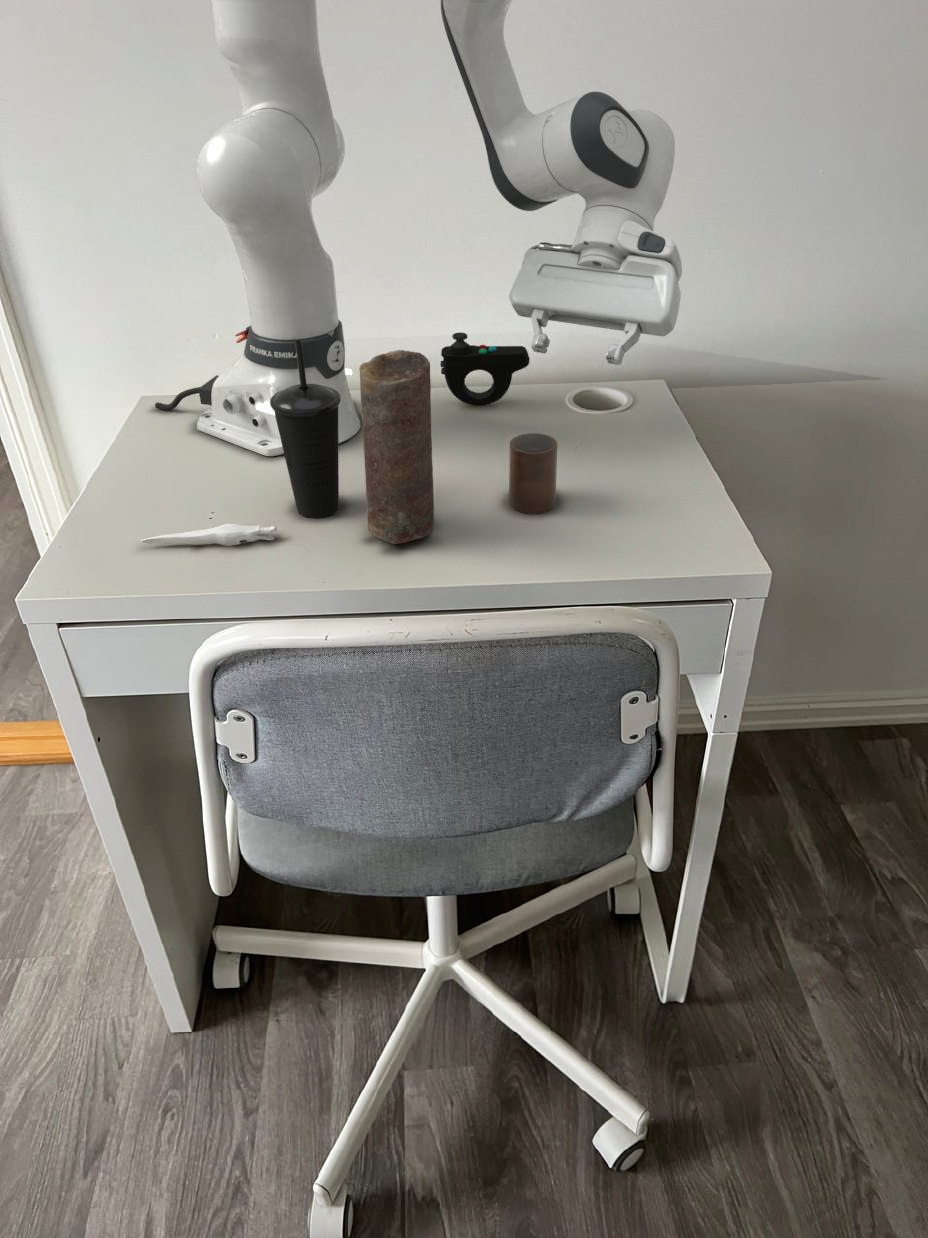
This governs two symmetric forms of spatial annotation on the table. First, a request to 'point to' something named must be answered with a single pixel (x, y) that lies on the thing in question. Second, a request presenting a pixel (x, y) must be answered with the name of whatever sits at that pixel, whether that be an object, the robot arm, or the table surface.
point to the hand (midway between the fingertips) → (575, 356)
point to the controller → (480, 368)
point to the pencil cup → (532, 473)
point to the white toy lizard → (216, 535)
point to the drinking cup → (310, 442)
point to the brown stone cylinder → (398, 445)
